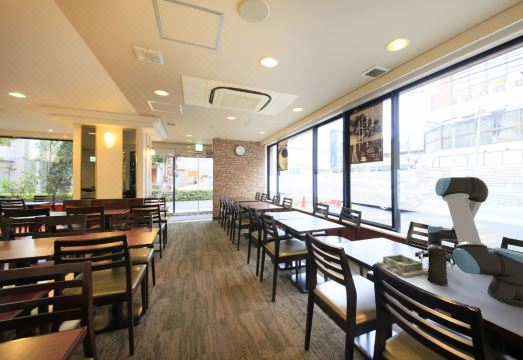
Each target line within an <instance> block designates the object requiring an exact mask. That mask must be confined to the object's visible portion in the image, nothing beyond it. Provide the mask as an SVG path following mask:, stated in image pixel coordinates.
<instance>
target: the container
mask: <svg viewBox="0 0 523 360" xmlns="http://www.w3.org/2000/svg"><path fill="white" fill-rule="evenodd" d="M428 251H429V257H428V267H427V268H428V269H427V270H428V273H427V277H426V279H427V281H428V282H429V283H432V284H435V285H437V286H448V284H449V280H448V273H447V272H448V271H447V270H448V269H447V268H448V267H447V265H448V264H447V263H448V262H447V258H446V256H447V254H448V251H447V250H445V249H443V248H442V249H439V248H428V247H427V252H428Z"/></svg>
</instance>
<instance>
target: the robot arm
mask: <svg viewBox="0 0 523 360" xmlns="http://www.w3.org/2000/svg"><path fill="white" fill-rule="evenodd" d="M434 188H435V189H434V190H435V194H436V195H437V196H439V197H441V199H442V201H443V202H445V203H447V207H448V211H449V213H450V217H451V221H452V224H453V225H452V227H451V228H443V227H442V225H439V224H429V225H428V226H427V249H428V248H439V249H443V248H442V247H443V243H442V242H443V241H456V242H458V243H457V244H456V245H455V248H454V250H453V251H452V254H453V255H452V256H451V254H449V253H447V256H446V258H447V263H449V264H450V266H451V268H452V269H454V266H457V268H458V269H460V270H461V271H462V272H464V273H466V274H471V275H476V276H477V275H479V276H490V277H492V279H491V281H490V283H489V285H488V286H487V294H488V295H489V296H490V297H492V298H494V299H495V300H498V301H499V302H502V303H505V304H507V305H511V306H515V307H520V308H523V252H519V251H515V250H512V249H507V248H503V247H493V251H488V248H487V245H486V244H484V242H483V243H482V241H481V240H482V239H481V238H480V235H479V232H478V229H477V225H476V223H475V220H474V219H475V218H476V215H477V213H478V211H479V210H480V207H481V206H482V203H485V202H486V201H487V198H488V196H489V188H488V186H487V184H486V183H485V181H484V180H482V179H481V178H480V177H479V178H478V177H476V176H451V175H450V176H441V177H439V178H438V179H437V181H436V184H435V187H434ZM414 256H415V258H418V259H419V260H420V262H422V263H423V259H424V258H429V251H428V250H427V251H425V249H421V250H420V251H415V252H414Z"/></svg>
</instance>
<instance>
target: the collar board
mask: <svg viewBox="0 0 523 360" xmlns="http://www.w3.org/2000/svg"><path fill="white" fill-rule="evenodd" d="M377 263H378V264H377ZM376 264H377V265H379V264H380V265H379V266H380V267H383V268H385V269H387V270H389V271H391V272H393V273H394V274H397V275H399V276H401V277H403V278H410V277H415V276H420V275H426V274H427V275H428V269H427V268H426V267H425V268H424V267H423V265H424V264H423V261H422V262H421V261H420V260H416V259H414V258H412V257H409V256H406V255H404V254H402V253H401V254H394V255H387V256H386V255H385V256H383V258H382V260H379V261H377V262H376Z"/></svg>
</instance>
